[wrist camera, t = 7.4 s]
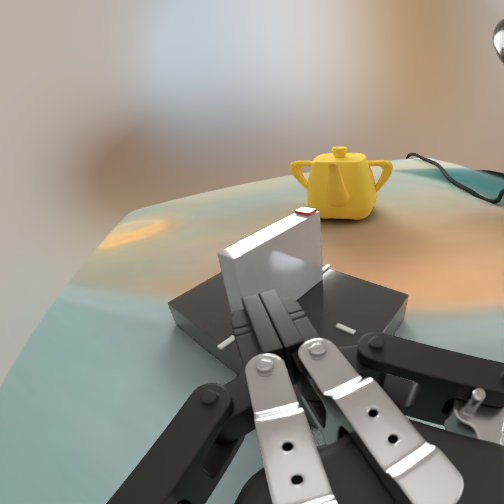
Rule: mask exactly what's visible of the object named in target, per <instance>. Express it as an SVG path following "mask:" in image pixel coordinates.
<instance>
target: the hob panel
mask: <svg viewBox="0 0 504 504" xmlns="http://www.w3.org/2000/svg"><path fill="white" fill-rule="evenodd" d="M330 266H331V265H329V264H327V265H326V266H324V267H323V279H322V280H321V281H320V282H318V283H317V284H316V285H315V286H314V287H312V288H311V289H310V290H309V291H307V292H306V293H305V294H304V295H303V296H301V297H300V298H299V299H298V300H296V301H297V302H298V303H299V305H300V306H301V308H302V310H303V311H304V312H305V314H306V316H307V317H308V319H309V320H310V322H311V323H312V325H313V326H314V328H315V329H316V331H317V332H318V334H319V336H320V337H321V338H324V339H327V340H330V341H331V342H333V343H334V344H335V346H337V347H345V346H354V345H358V341H359V339H360V338H361V337H362V336H363V335H365V334H367V333H370V332H381V333H385V334H388V335H392V336H393V335H394V333H395V332H396V330H397V329H398V327H399V325H400V324H401V322H402V321H403V319H404V315H405V310H406V305H407V300H408V294H405V293H401V292H398V291H395V290H392V289H389V288H386V287H383V286H380V285H377V284H374V283H371V282H368V281H365V280H362V279H359V278H356V277H353V276H350V275H347V274H344V273H341V272H338V271H335V270H331V269H328V268H329V267H330ZM168 305H169V308H170V310H171V313H172V316H173V318H174V321H175V323H176V325H177V326H179V327H180V328H181V329H182V330H183V331H184V332H186V333H187V334H188V335H189V336H190V337H192V338H193V339H194V340H195V341H196V342H198V343H199V344H200V345H201V346H202V347H204V348H205V349H206V350H207V351H209V352H210V353H211V354H212V355H213V356H215V357H216V358H217V359H219V360H220V361H221V362H222V363H224V364H225V365H226V366H227V367H229V368H230V369H231V370H233V371H234V372H235V373H237V374H238V375H239V374H240V372H241V370H242V362H241V359H240V355H239V352H238V349H237V345H236V341H235V338H234V334H233V330H232V326H231V322H230V319H231V315H232V313H231V309H230V304H229V300H228V296H227V292H226V288H225V284H224V280H223V275H222V272H221V273H219V274H217V275H215V276H214V277H212V278H210V279H208V280H207V281H205V282H203V283H201V284H200V285H198V286H196V287H194V288H193V289H191V290H189V291H187V292H186V293H184V294H182V295H180V296H179V297H177V298H175V299H173V300H172V301H170V302H168ZM292 386H293V389H294V392H295V395H296V398H297V401H298V403H299V405H300V406H302V408H303V410H304V413H305V415H306V418H307V421H308V423H309V424H311V425H312V426H314V427H315V428H317V429H319V428H318V426H317V425H316V423H315V421H314V419H313V418H312V416H311V414H310V413H309V411H308V409H307V408H306V406H305V404H304V402H303V401H302V399H301V394H300V392H299V390H298V388H297V385H296V384H295V385H292Z"/></svg>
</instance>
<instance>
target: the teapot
mask: <svg viewBox="0 0 504 504" xmlns="http://www.w3.org/2000/svg"><path fill="white" fill-rule="evenodd" d="M331 150H332V152H333V153H327V154H321V155H319V156H317V157H315V159H314V160H313V161H294V162H292V163H291V165H290V169H291V171H292V174H293V175H294V177H295V178H296V179H297V180H298V181H299V182H300V183H301V184H302V185H303V186H304V187H305V188H306V189H307V190H308V191H307V199H308V206H309V208H313V209H316V210H317V211H319V212H320V218H322V219H329V218H341V219H353V220H361V219H363V218H365V217H367V216H368V215H369V214H370V213H371V211H372V209H373V207H374V205H375V203H376V198H377V196H376V192H377V191H378V190H379V189H380V188H381V187H382V186H383V185H384V183H385V182H386V181H387V180H388V178H389V177H390V175H391V173H392V170H393V165H392V163H391V162H389V161H386V160H373V161H368V160H367V158H366V156H365V155H364V154H362V153H347V147H333V148H331ZM302 166H311V171H310V175H309V180H308V182H307V180H306V179H305V178H304V176H303V174H302V172H301V169H300V168H301V167H302ZM370 166H381V167H382V169H383V170H382V174H381V177H380V179H379V181H378V182H377V184H376V185H375V180H374V176H373V173H372V170H371V168H370Z"/></svg>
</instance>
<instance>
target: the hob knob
mask: <svg viewBox="0 0 504 504" xmlns="http://www.w3.org/2000/svg"><path fill="white" fill-rule="evenodd" d="M217 254H218V258H219V263H220V267H221V271H222V275H223V280H224V284H225V288H226V292H227V296H228V300H229V304H230V309H231V313H232V312H233V311H237V310H241V309H243V305H242V300H241V298H242V297H246V296H249V295H253V294H258V293H261V292H265V291H269V290H272V289H275V290H276V292H277V293H278V295H279V297H280V299H282V298H286V297H290V298H292V299H294V300H295V301H296V300H298V299H299V298H300V297H301V296H303V295H304V294H305V293H306V292H307V291H309V290H310V289H311V288H312V287H314V286H315V285H316V284H317V283H318V282H320V281H321V280H322V279H323V266H322V243H321V225H320V212H319V211H317V210H316V209H313V208H308V207H301V208H299V209H297V210H295V213H294V214H292V215H290V216H288V217H286V218H284V219H282V220H280V221H278V222H276V223H274V224H272V225H270V226H268V227H266V228H264V229H262V230H260V231H259V232H257V233H255V234H253V235H251V236H249V237H247V238H245V239H243V240H241V241H239V242H237V243H235V244H233V245H232V246H230V247H228V248H226V249H224V250H222V251H220V252H218V253H217Z"/></svg>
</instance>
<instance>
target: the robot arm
mask: <svg viewBox="0 0 504 504" xmlns="http://www.w3.org/2000/svg"><path fill="white" fill-rule="evenodd" d="M493 45H494V49H495V51H496V54H497V55H498V57H499V59H500V60H501V61H502V62H503V63H504V19H502V20H501V21H500V22H498V24H497V25H496V27H495V29H494V32H493ZM410 156H417V157H418V158H420V159H422V160H424V161H427V162H430V163H432V164H434V165H436V166H438V167H439V168H440V170H441V171H442V172H443V174H444V176H445V177H446V178H447V179H448V180H449V181H450V182H452V183H453V184H454V185H456V186H458V187H459V188H461V189H463V190H465V191H467V192H469V193H470V194H472V195H474V196H475V197H478V198H480V199H483V200H485V201H488V202H491V203H498V202H500V201H501V199H502V196H503V194H504V189H502V190H501V191H500V193H499V195H498V197H497V198H496V199H488V198H485V197H483V196H481V195H479V194H478V193H476V192H475V191H473V190H472V189H470V188H468V187H466V186H464V185H462V184H460V183H458V182H457V181H455V180H454V179H452V178H451V177H450V176H448V174H447V173H446V171H445V170H444V169H443V167H442V166H441V165H440V164H438V163H436V162H435V161H432V160H430V159H427V158H424V157H422V156H420V155H418V154H416V153H409V154H408V155H407V157H406V159H408V158H409V157H410ZM241 300H242V305H243V309H241V310H237V311H233V312H232V315H231V319H230V322H231V326H232V330H233V334H234V338H235V341H236V345H237V349H238V352H239V355H240V359H241V362H242V370H241V372H240V374H239V375H238V376H237V377H236V378H235V379H234V380H232V381H231V382H229V383H227V384H225V385H221V384H217V383H208V384H204V385H202V386H200V387H198V388H197V389H196V390H194V392H193V393H192V394H191V395H190V397H189V398H188V400H187V401H186V402H185V404H184V405H183V406H182V408H181V409H180V410H179V412H178V413H177V414H176V416H175V417H174V418H173V420H172V421H171V422H170V424H169V425H168V426H167V428H166V429H165V430H164V432H163V433H162V434H161V435H160V437H159V438H158V439H157V441H156V442H155V443H154V445H153V446H152V447H151V448H150V450H149V451H148V452H147V454H146V455H145V456H144V457H143V459H142V460H141V461H140V463H139V464H138V465H137V466H136V468H135V469H134V470H133V471H132V473H131V474H130V475H129V476H128V478H127V479H126V480H125V481H124V483H123V484H122V485H121V486H120V488H119V489H118V490H117V491H116V493H115V494H114V495H113V496H112V497H111V499H110V500H109V501H108V502H107V503H106V504H205V503H206V501H207V500H208V498H209V497H210V495H211V494H212V492H213V490H214V489H215V487H216V486H217V484H218V483H219V481H220V479H221V478H222V476H223V474H224V473H225V471H226V470H227V468H228V466H229V465H230V463H231V461H232V459H233V458H234V456H235V454H236V453H237V451H238V449H239V447H240V446H241V444H242V442H243V440H244V438H245V435H246V434H247V433H249V432H251V431H252V430H254V429H256V432H257V436H258V441H259V446H260V450H261V455H262V460H263V464H264V468H262V469H261V470H259V471H258V472H257V473H256V474H254V475H253V476H252V477H251V478H250V479H249V480H248V481H247V483H246V484H245V485H244V487H243V488H242V490H241V492H240V494H239V496H238V498H237V499H236V501H235V503H234V504H504V446H503V445H501V444H502V438H503V433H504V363H501V362H496V361H492V360H487V359H483V358H478V357H474V356H470V355H466V354H462V353H457V352H453V351H449V350H445V349H441V348H437V347H433V346H429V345H425V344H422V343H418V342H414V341H410V340H407V339H403V338H399V337H395V336H392V335H388V334H385V333H381V332H370V333H367V334H365V335H363V336H362V337H361V338H360V339H359V341H358V345H354V346H345V347H337V346H335V344H334V343H333V342H331V341H330V340H327V339H324V338H321V337H320V336H319V334H318V332H317V331H316V329H315V328H314V326H313V325H312V323H311V322H310V320H309V319H308V317H307V316H306V314H305V312H304V311H303V310H302V308H301V306H300V305H299V303H298V302H297V301H295V300H294V299H292V298H290V297H286V298H282V299H280V297H279V295H278V293H277V292H276V290H275V289H272V290H269V291H265V292H261V293H258V294H253V295H249V296H246V297H242V298H241ZM389 374H391V375H389ZM393 375H394V376H393ZM396 376H397V377H396ZM399 377H401V378H399ZM403 378H404V379H403ZM406 379H408V380H406ZM410 380H411V381H410ZM413 381H414V382H413ZM295 384H296V385H297V388H298V390H299V392H300V394H301V399H302V401H303V402H304V404H305V406H306V408H307V409H308V411H309V413H310V414H311V416H312V418H313V419H314V421H315V423H316V425H317V426H318V428H319V430H320V431H321V433H322V436H323V439H324V443H325V445H323V446H316V444H315V441H314V438H313V435H312V433H311V430H310V427H309V424H308V421H307V418H306V415H305V413H304V410H303V408H302V406H300V405H299V403H298V401H297V398H296V395H295V392H294V389H293V386H292V385H295ZM405 415H407V416H410V417H413V418H417V419H420V420H424V421H428V422H431V423H435V424H439V425H443V426H444V427H445V430H443V429H440V428H436V427H433V426H430V425H426V424H423V423H420V422H417V421H413V420H408V419H407V418H406V416H405Z"/></svg>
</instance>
